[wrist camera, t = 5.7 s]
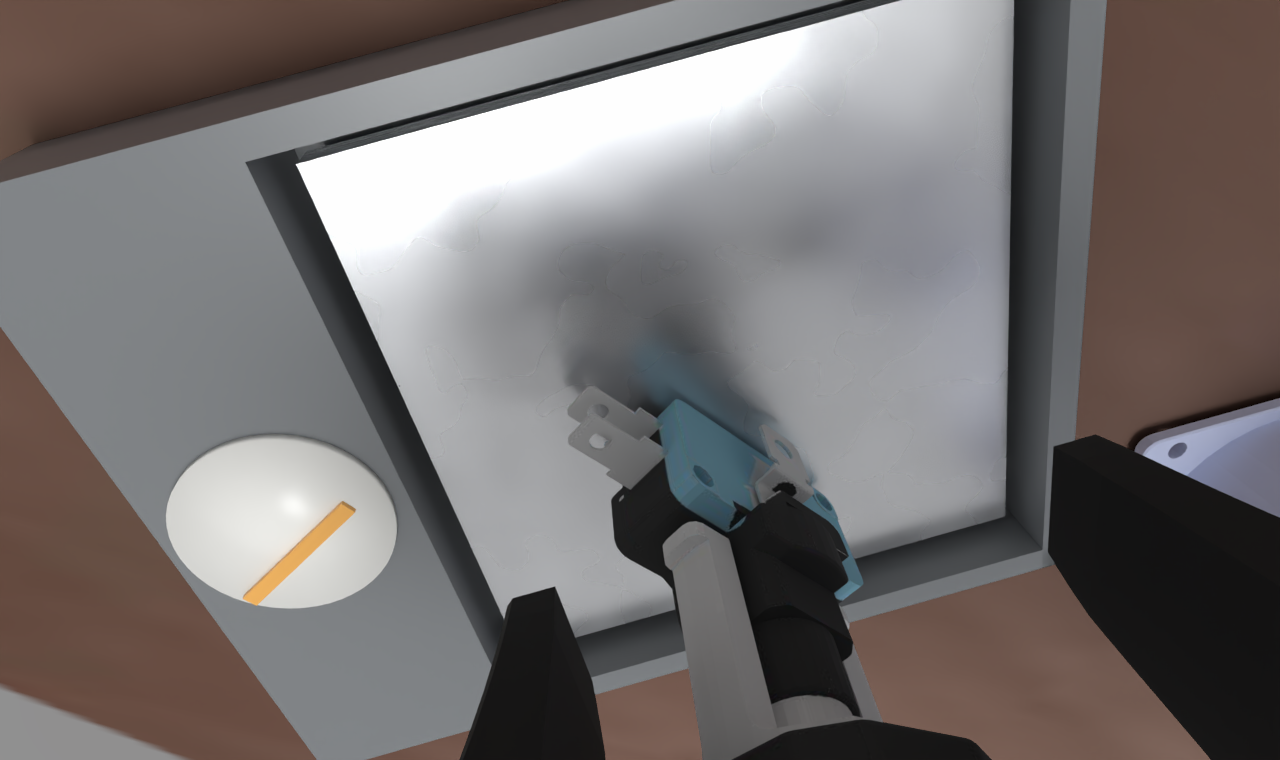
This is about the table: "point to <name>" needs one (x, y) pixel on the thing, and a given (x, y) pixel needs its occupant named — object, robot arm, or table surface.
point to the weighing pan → (702, 280)
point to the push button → (749, 586)
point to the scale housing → (365, 388)
